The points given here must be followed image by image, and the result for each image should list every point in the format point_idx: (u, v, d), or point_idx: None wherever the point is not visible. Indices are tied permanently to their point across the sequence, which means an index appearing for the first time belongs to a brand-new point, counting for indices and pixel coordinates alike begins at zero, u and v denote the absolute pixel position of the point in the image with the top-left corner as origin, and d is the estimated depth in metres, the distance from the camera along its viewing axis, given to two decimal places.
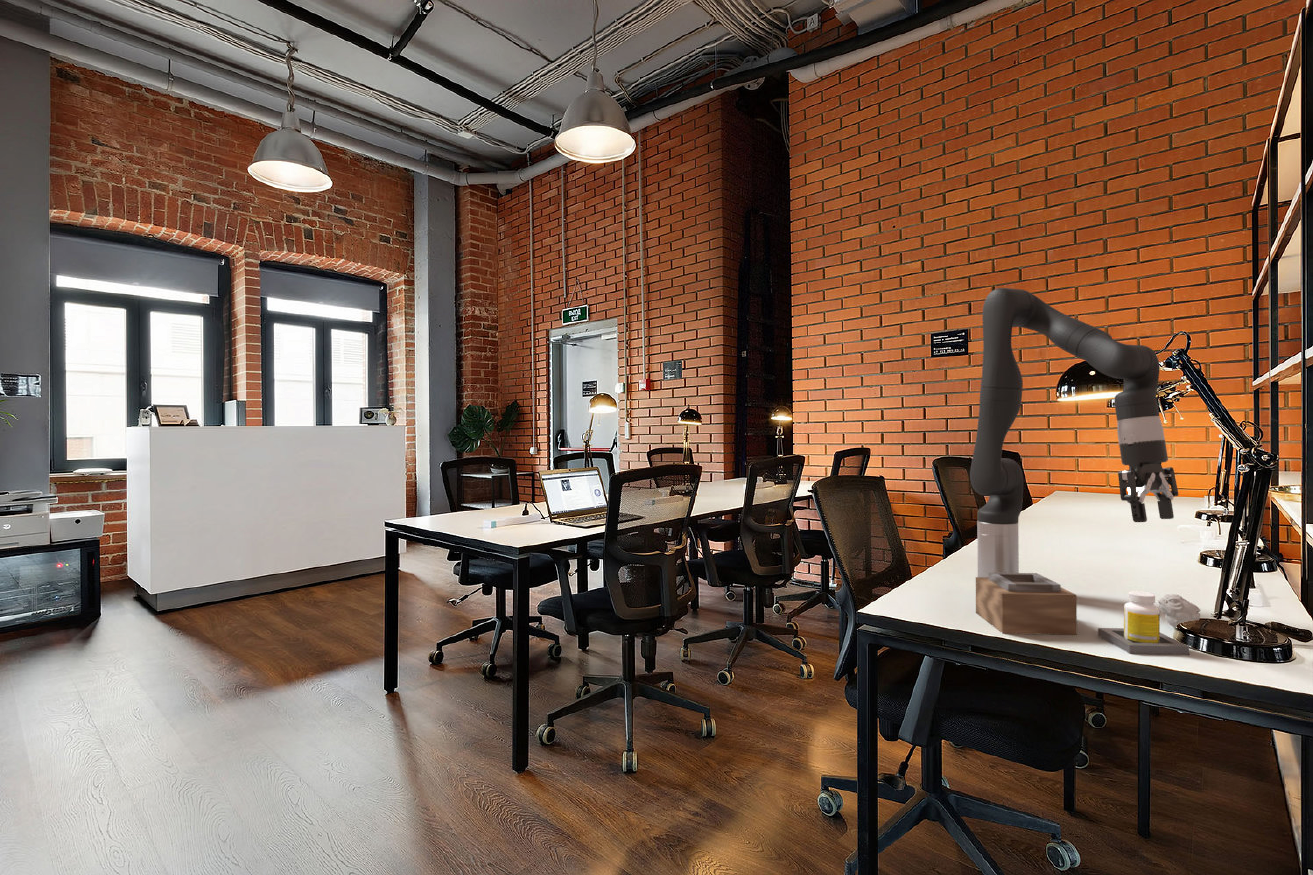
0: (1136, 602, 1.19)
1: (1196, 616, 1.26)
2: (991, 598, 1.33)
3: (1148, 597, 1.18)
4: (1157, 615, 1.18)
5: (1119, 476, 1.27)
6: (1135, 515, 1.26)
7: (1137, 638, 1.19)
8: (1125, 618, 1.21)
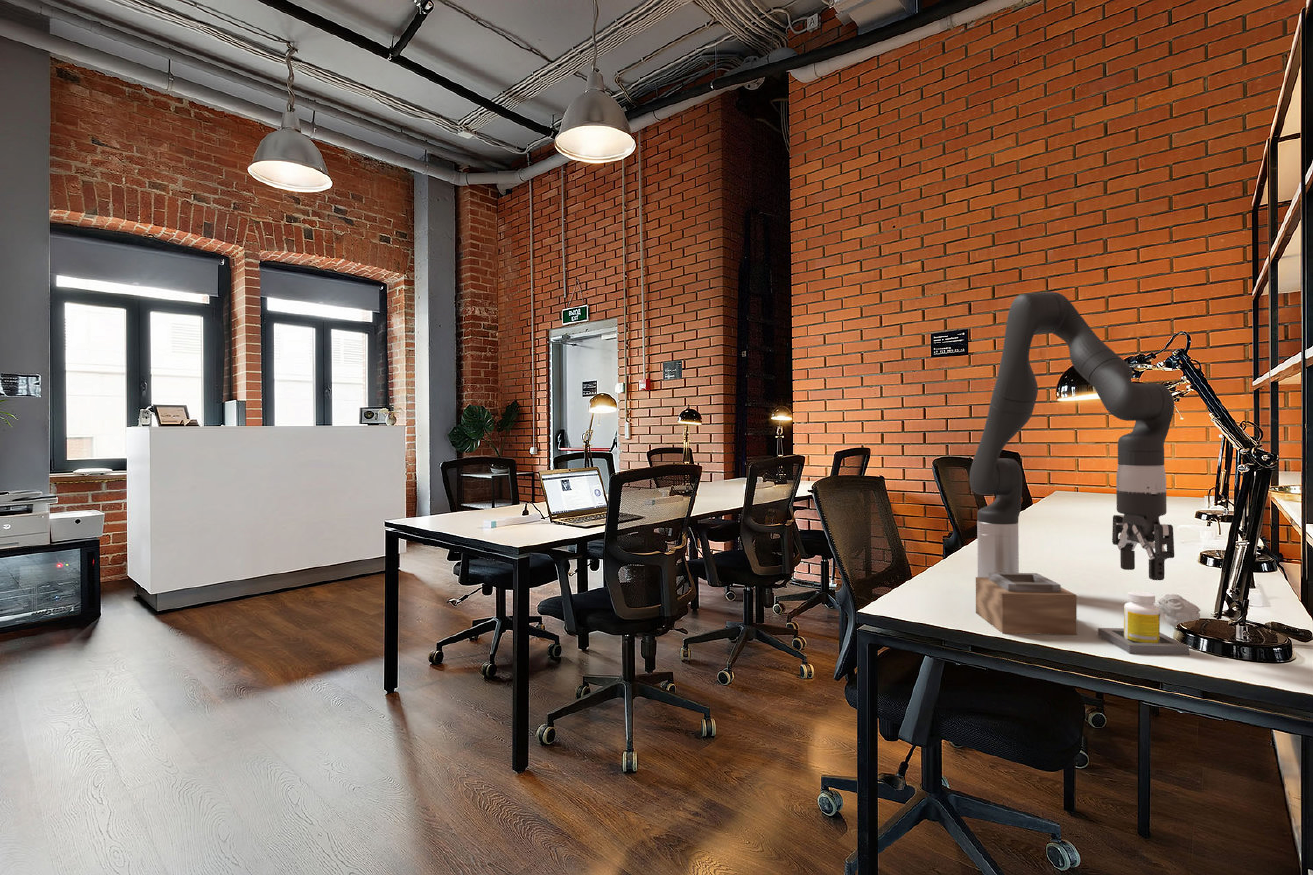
0: (1136, 602, 1.19)
1: (1196, 616, 1.26)
2: (991, 598, 1.33)
3: (1148, 597, 1.18)
4: (1157, 615, 1.18)
5: (1159, 531, 1.13)
6: (1158, 573, 1.15)
7: (1137, 638, 1.19)
8: (1125, 618, 1.21)
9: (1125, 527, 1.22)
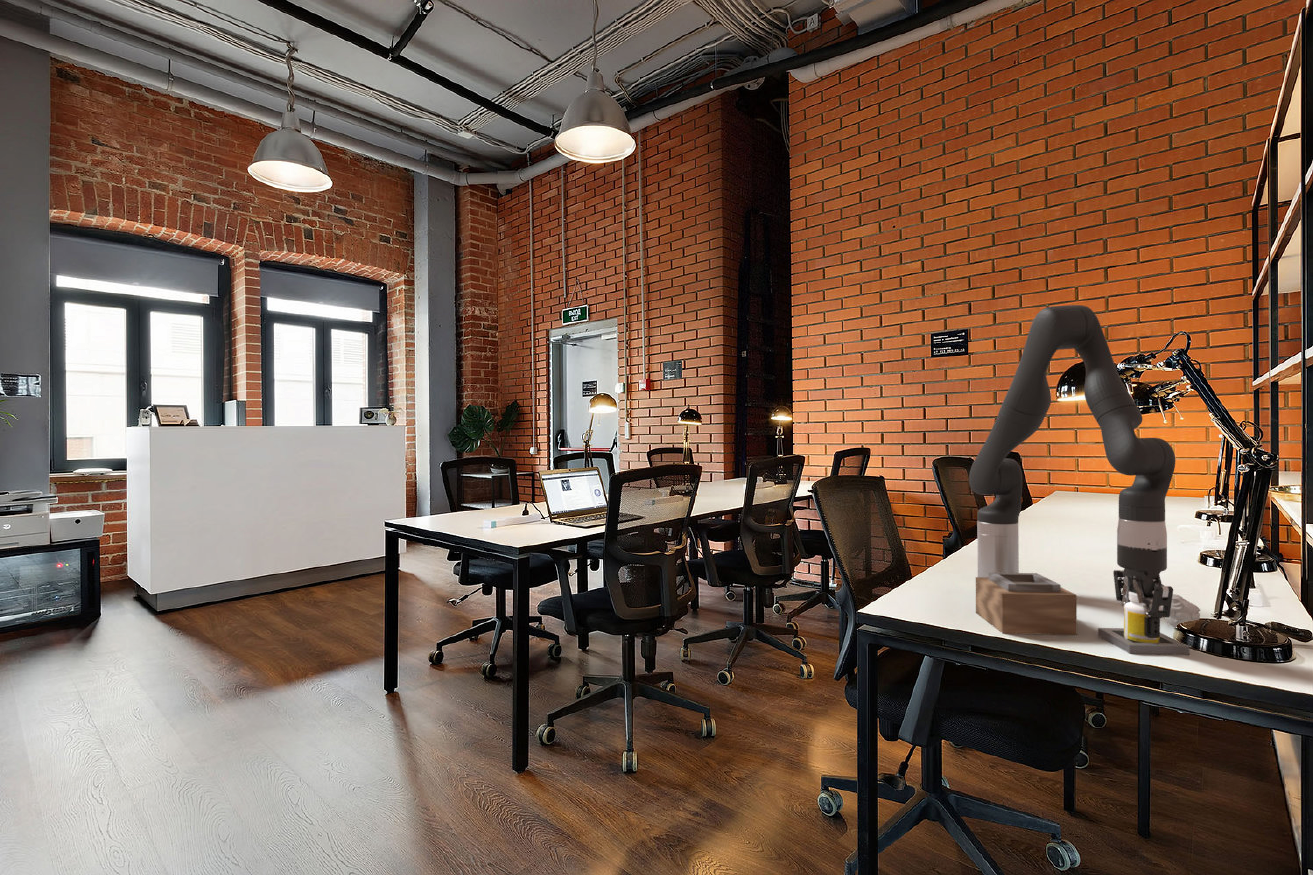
0: (1136, 602, 1.19)
1: (1196, 616, 1.26)
2: (991, 598, 1.33)
3: None
4: None
5: (1159, 593, 1.14)
6: (1153, 631, 1.17)
7: (1137, 638, 1.19)
8: (1125, 618, 1.21)
9: (1126, 581, 1.22)
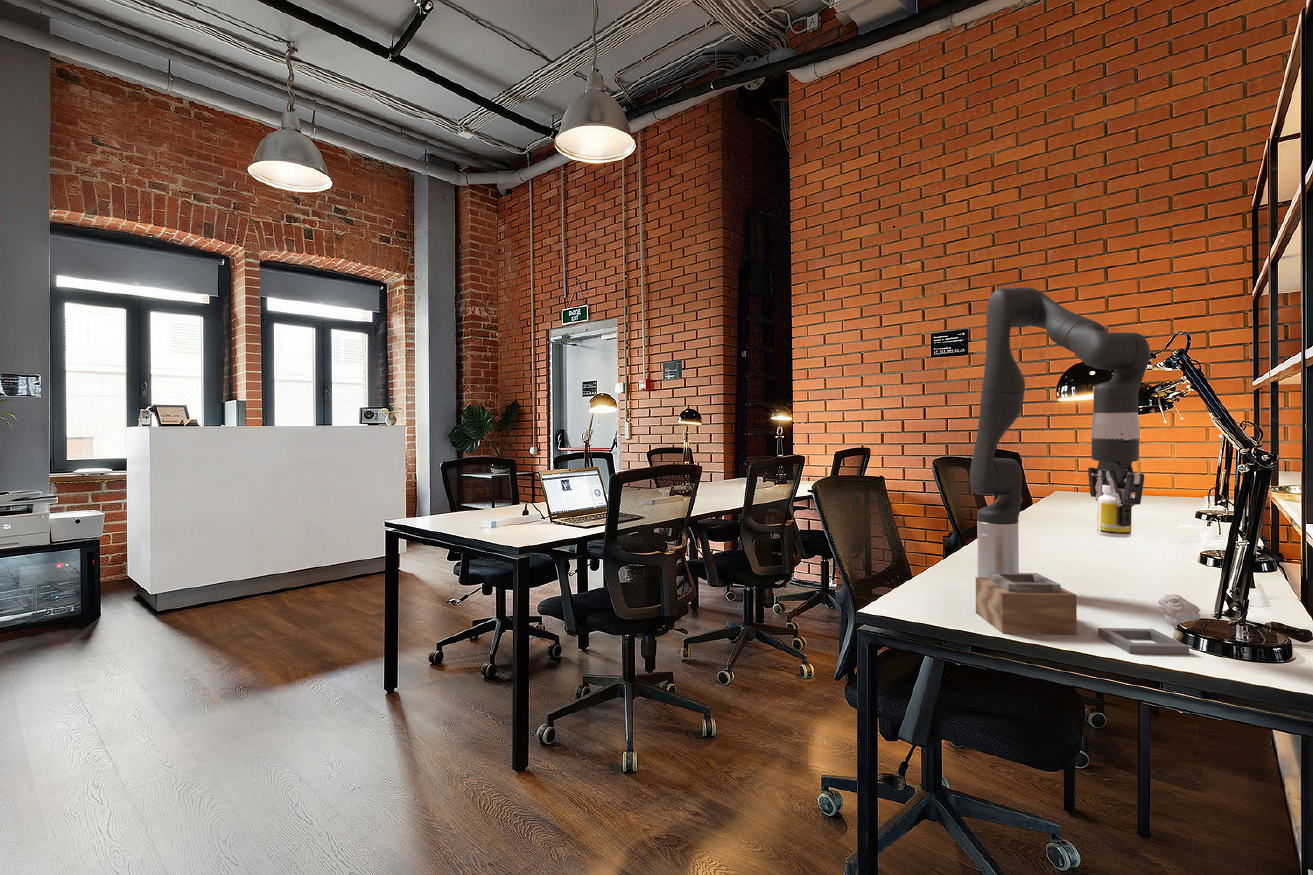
0: (1109, 493, 1.22)
1: (1196, 616, 1.26)
2: (991, 598, 1.33)
3: None
4: None
5: (1131, 480, 1.16)
6: (1125, 519, 1.20)
7: (1109, 528, 1.22)
8: (1098, 510, 1.24)
9: (1099, 474, 1.25)
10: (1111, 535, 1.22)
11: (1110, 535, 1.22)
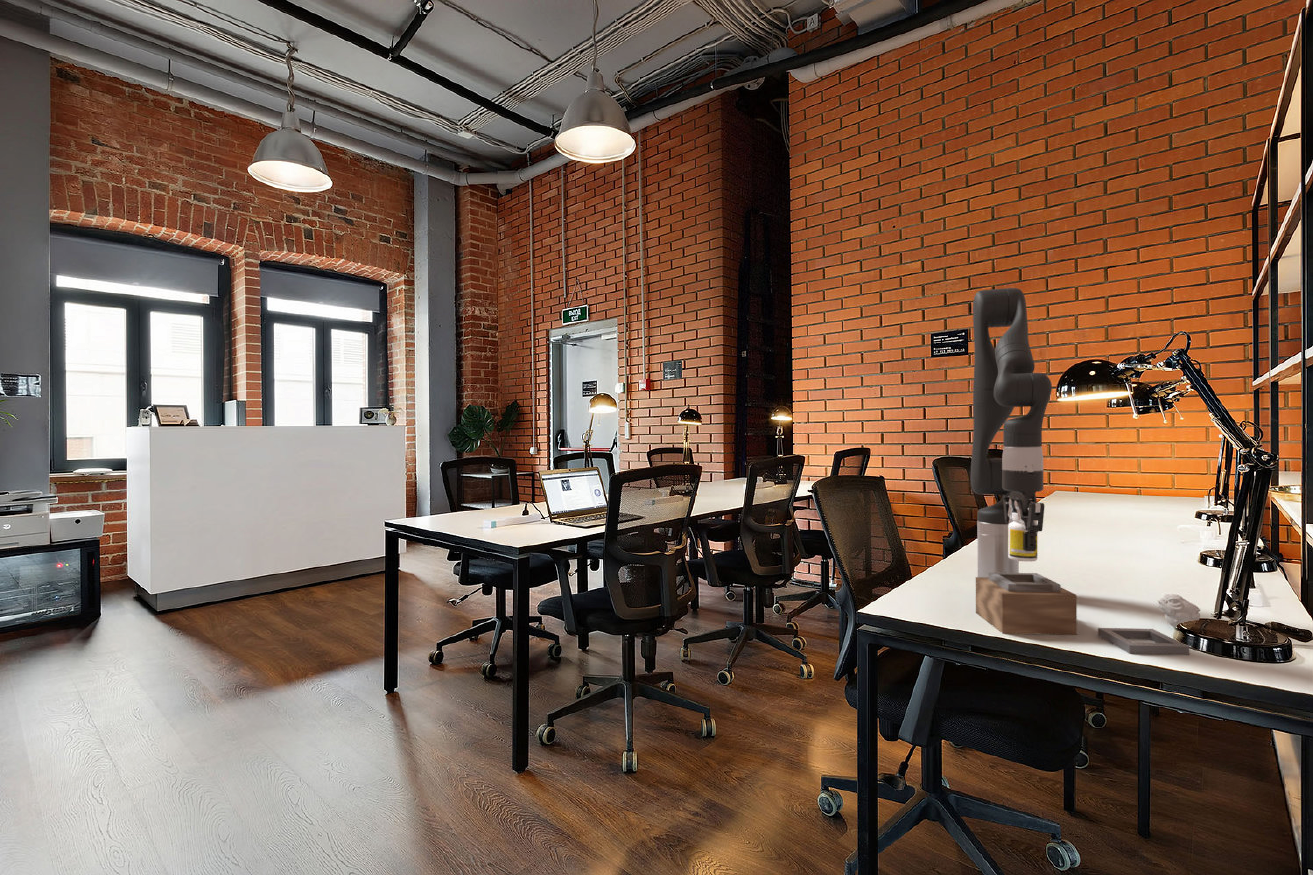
0: (1017, 520, 1.33)
1: (1196, 616, 1.26)
2: (991, 598, 1.33)
3: None
4: None
5: (1032, 509, 1.27)
6: (1030, 544, 1.30)
7: (1017, 552, 1.32)
8: (1008, 536, 1.35)
9: (1010, 503, 1.35)
10: (1018, 559, 1.32)
11: (1018, 559, 1.32)
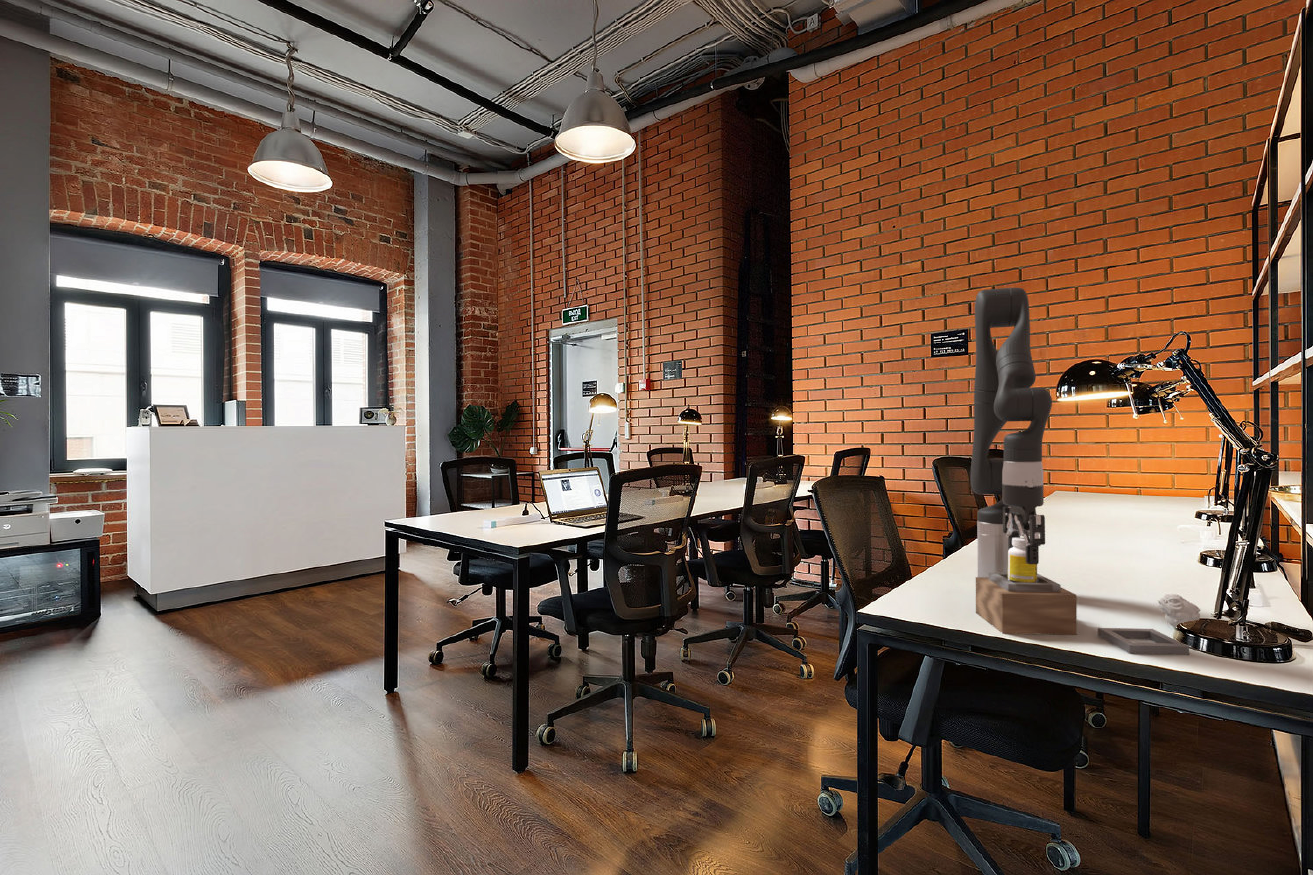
0: (1017, 546, 1.33)
1: (1196, 616, 1.26)
2: (991, 598, 1.33)
3: None
4: None
5: (1033, 521, 1.27)
6: (1033, 558, 1.29)
7: (1016, 578, 1.33)
8: (1008, 561, 1.35)
9: (1010, 517, 1.35)
10: None
11: None
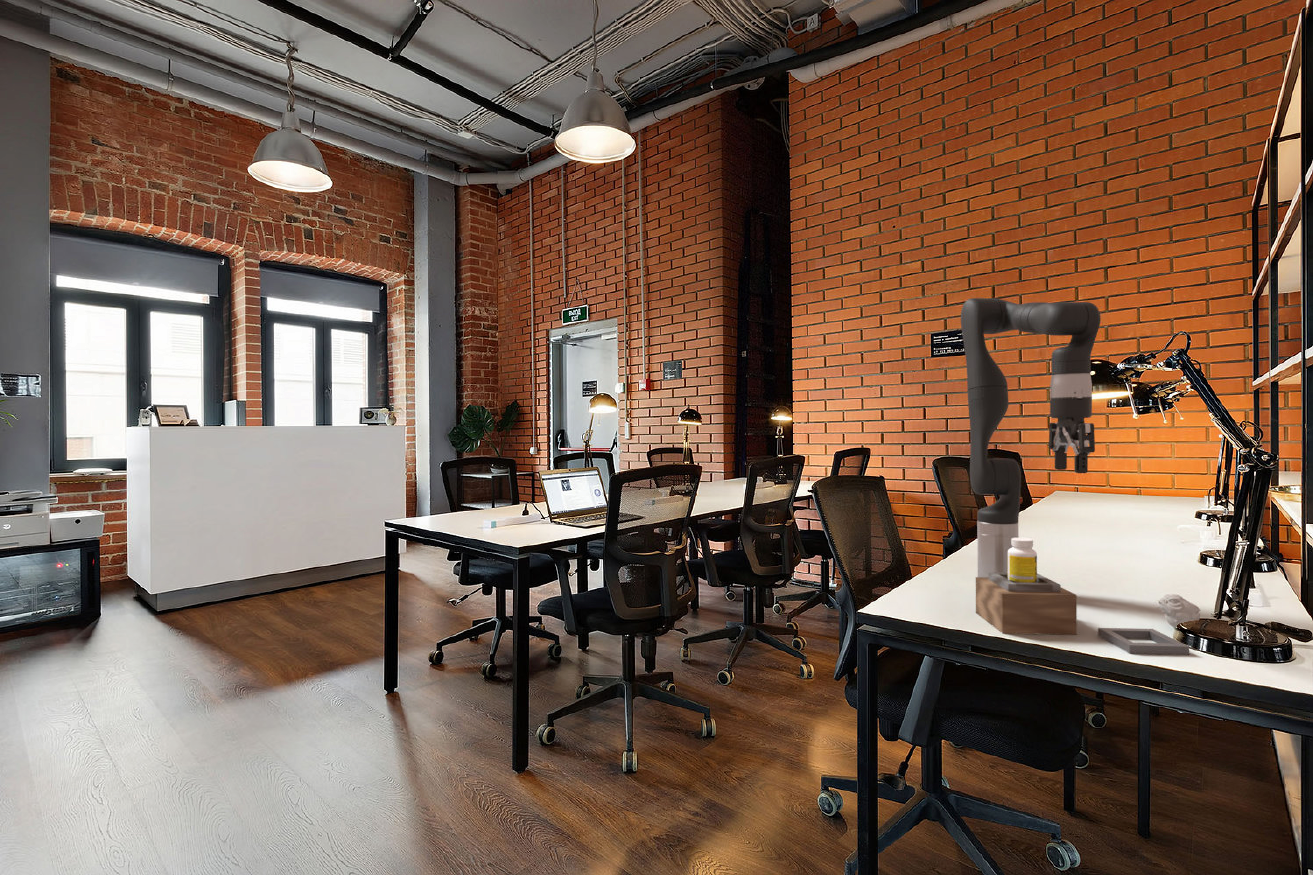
0: (1016, 546, 1.33)
1: (1196, 616, 1.26)
2: (991, 598, 1.33)
3: (1026, 541, 1.32)
4: (1033, 557, 1.32)
5: (1082, 428, 1.29)
6: (1082, 466, 1.31)
7: (1016, 578, 1.33)
8: (1008, 561, 1.35)
9: (1057, 431, 1.38)
10: None
11: None
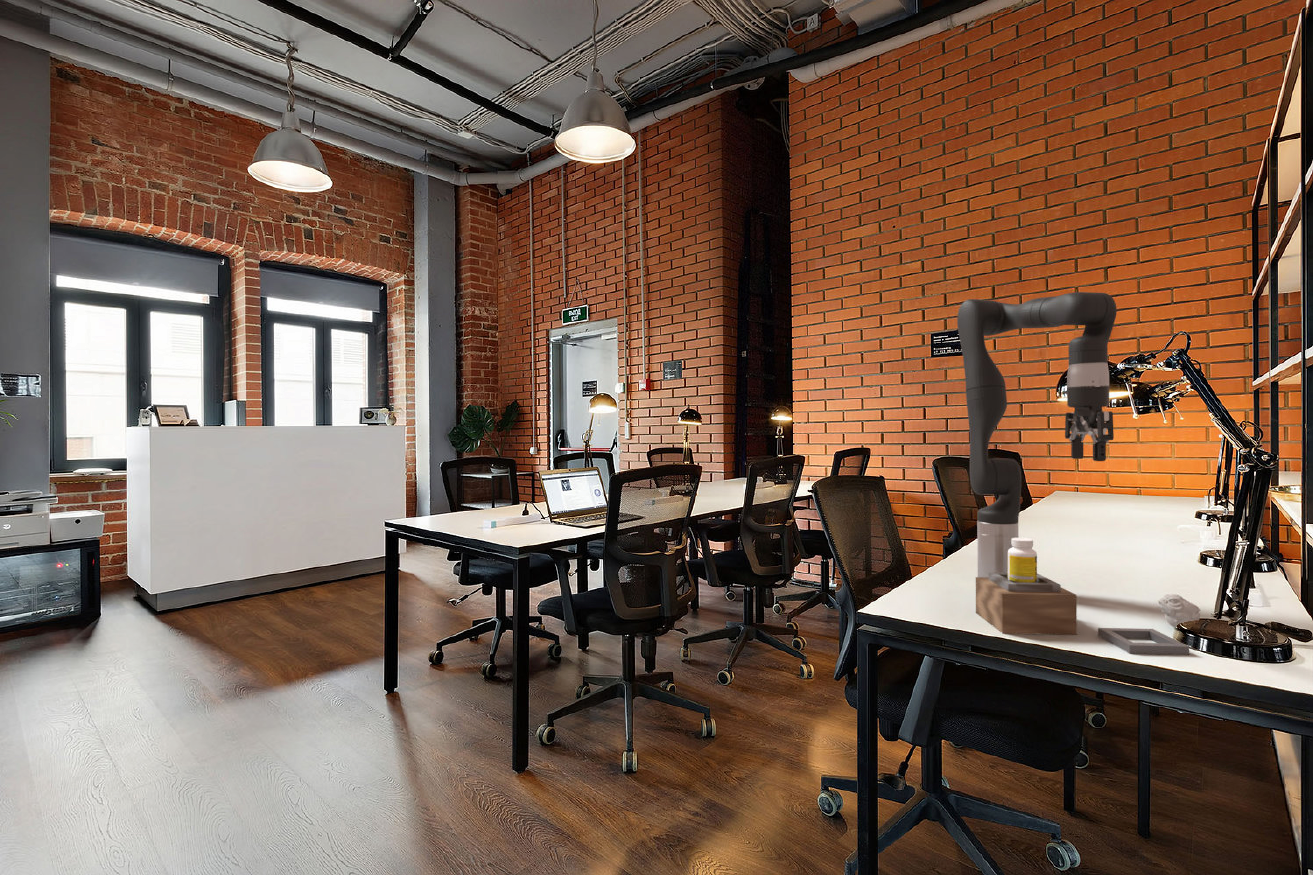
0: (1017, 546, 1.33)
1: (1196, 616, 1.26)
2: (991, 598, 1.33)
3: (1026, 541, 1.32)
4: (1034, 557, 1.32)
5: (1101, 417, 1.31)
6: (1100, 454, 1.33)
7: (1016, 578, 1.33)
8: (1008, 561, 1.35)
9: (1074, 420, 1.39)
10: None
11: None
